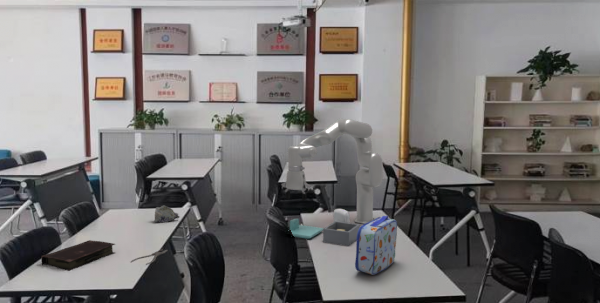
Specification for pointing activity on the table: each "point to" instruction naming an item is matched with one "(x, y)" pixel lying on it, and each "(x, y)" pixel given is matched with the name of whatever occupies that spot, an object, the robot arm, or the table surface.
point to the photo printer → (341, 216)
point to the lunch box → (376, 245)
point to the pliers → (152, 255)
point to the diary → (78, 255)
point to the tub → (340, 233)
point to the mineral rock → (165, 214)
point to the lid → (303, 230)
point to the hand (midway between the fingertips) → (296, 199)
